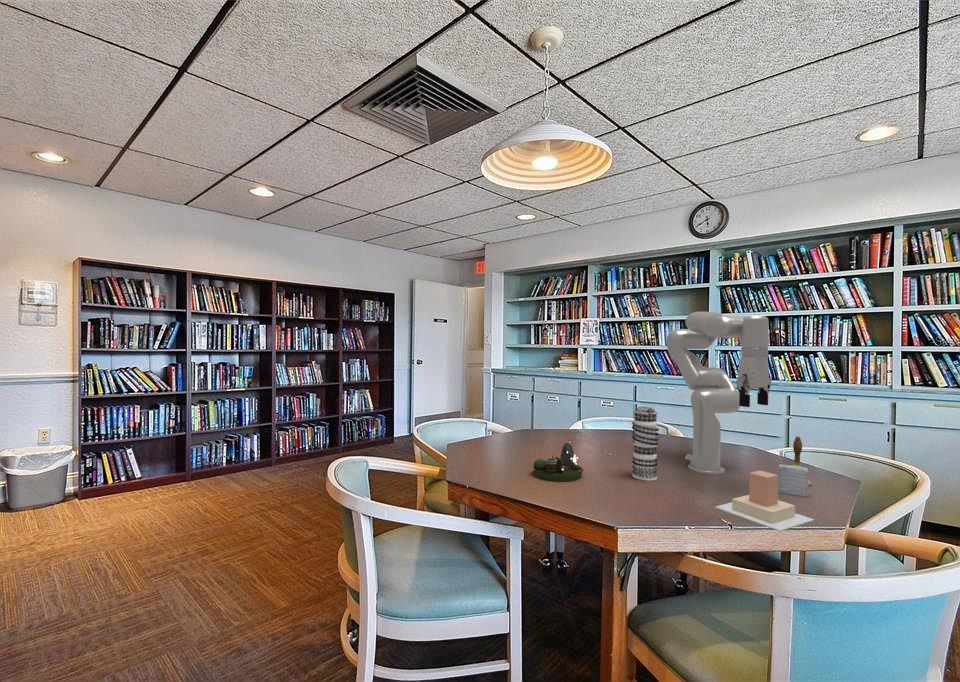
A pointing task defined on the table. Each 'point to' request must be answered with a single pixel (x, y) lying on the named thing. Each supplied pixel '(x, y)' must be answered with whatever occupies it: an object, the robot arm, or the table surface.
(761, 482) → the terracotta block
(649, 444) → the black white tall cylinder
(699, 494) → the table surface
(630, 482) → the table surface
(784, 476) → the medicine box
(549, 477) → the toy scene
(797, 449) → the hand bell
